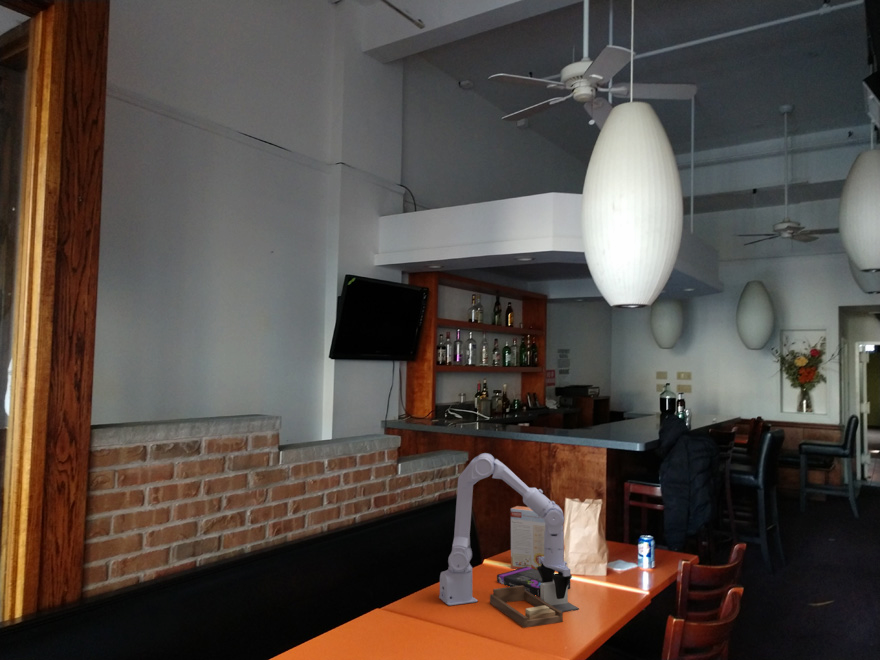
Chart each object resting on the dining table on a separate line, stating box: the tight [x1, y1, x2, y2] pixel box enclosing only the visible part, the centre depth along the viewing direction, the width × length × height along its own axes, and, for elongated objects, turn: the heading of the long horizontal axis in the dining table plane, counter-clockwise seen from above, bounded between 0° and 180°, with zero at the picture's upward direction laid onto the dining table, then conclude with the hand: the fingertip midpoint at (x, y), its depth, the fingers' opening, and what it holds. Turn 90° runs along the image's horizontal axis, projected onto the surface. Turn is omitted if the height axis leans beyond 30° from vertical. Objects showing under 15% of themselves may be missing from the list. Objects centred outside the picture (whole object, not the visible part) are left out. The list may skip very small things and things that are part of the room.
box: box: [496, 566, 571, 598], centre depth 215 cm, size 14×4×20 cm
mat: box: [539, 597, 580, 613], centre depth 197 cm, size 9×12×1 cm
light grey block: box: [540, 582, 569, 605], centre depth 197 cm, size 8×2×6 cm, turn 112°
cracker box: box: [510, 505, 545, 570], centre depth 233 cm, size 14×6×21 cm, turn 58°
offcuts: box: [524, 605, 555, 620], centre depth 183 cm, size 9×3×4 cm, turn 112°
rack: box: [489, 585, 564, 628], centre depth 191 cm, size 12×20×4 cm, turn 22°
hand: (554, 594), depth 197 cm, fingers open, 6 cm apart
